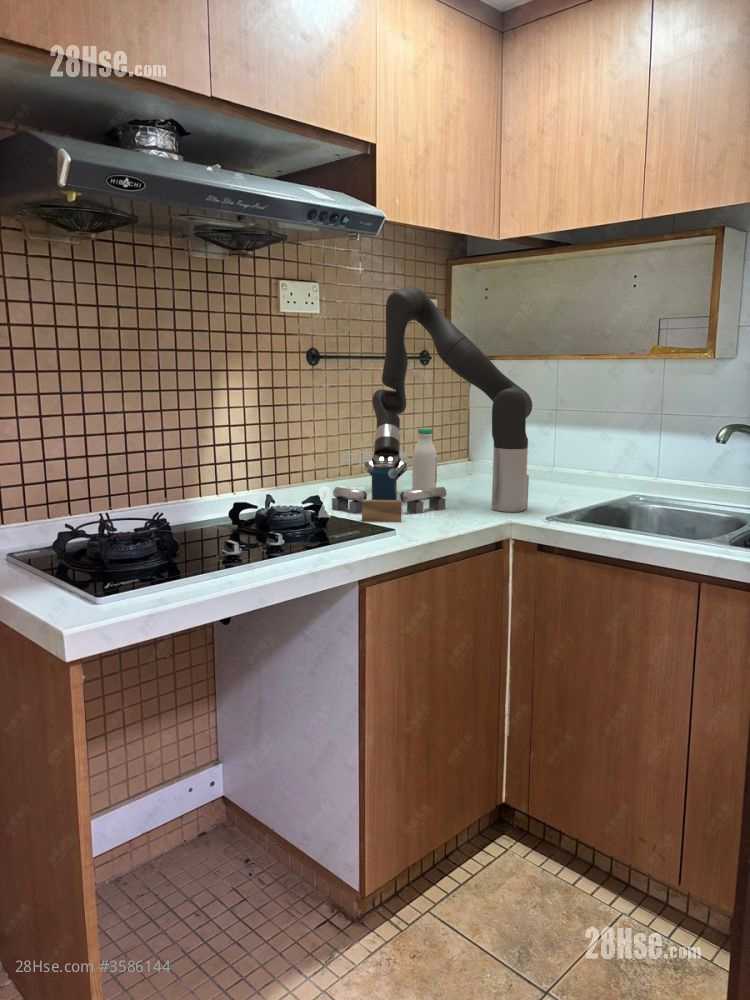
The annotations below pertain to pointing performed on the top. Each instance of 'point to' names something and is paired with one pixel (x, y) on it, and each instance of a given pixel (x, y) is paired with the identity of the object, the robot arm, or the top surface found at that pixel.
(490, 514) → the top surface
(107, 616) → the top surface
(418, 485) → the milk bottle
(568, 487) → the top surface
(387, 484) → the soda can
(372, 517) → the block
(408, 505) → the shaft
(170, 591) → the top surface
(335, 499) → the shaft
